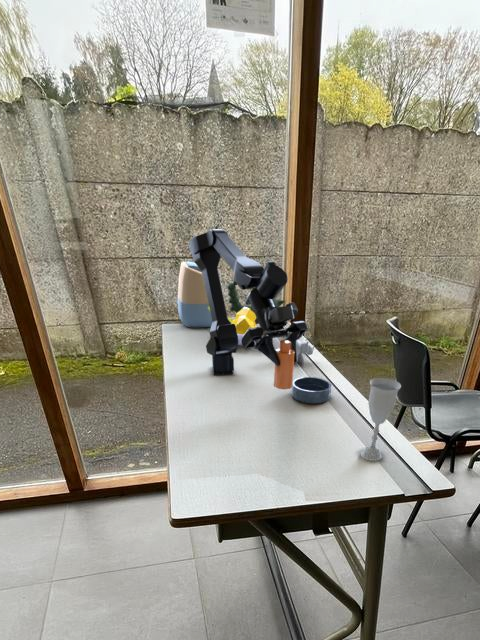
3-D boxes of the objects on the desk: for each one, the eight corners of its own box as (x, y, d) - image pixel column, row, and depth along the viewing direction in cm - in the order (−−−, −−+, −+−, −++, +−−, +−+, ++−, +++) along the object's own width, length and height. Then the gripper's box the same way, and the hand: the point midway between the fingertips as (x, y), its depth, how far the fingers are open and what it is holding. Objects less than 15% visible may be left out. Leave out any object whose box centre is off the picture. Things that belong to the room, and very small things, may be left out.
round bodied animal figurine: (314, 364, 156) (317, 340, 151) (281, 364, 155) (283, 339, 150) (311, 357, 162) (313, 334, 157) (279, 357, 160) (280, 333, 155)
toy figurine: (231, 326, 196) (286, 323, 197) (226, 280, 184) (284, 276, 185) (231, 321, 203) (284, 318, 204) (226, 275, 191) (283, 272, 193)
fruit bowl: (290, 340, 179) (292, 310, 172) (251, 355, 160) (251, 323, 153) (236, 326, 190) (236, 298, 183) (194, 340, 171) (192, 309, 164)
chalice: (354, 448, 108) (366, 377, 98) (380, 448, 109) (395, 378, 98) (360, 463, 103) (374, 390, 92) (388, 463, 103) (405, 390, 92)
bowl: (296, 405, 127) (297, 392, 125) (287, 389, 136) (288, 377, 134) (334, 403, 129) (336, 391, 127) (323, 388, 139) (325, 376, 136)
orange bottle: (275, 389, 119) (277, 344, 111) (272, 382, 123) (273, 338, 115) (294, 389, 120) (297, 344, 113) (290, 382, 124) (292, 338, 117)
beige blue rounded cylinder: (221, 328, 187) (219, 267, 173) (181, 329, 183) (176, 266, 168) (215, 318, 199) (212, 260, 185) (178, 318, 195) (172, 259, 181)
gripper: (247, 293, 105) (272, 353, 105) (306, 288, 114) (329, 343, 114) (230, 320, 114) (253, 375, 114) (287, 313, 124) (308, 363, 124)
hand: (287, 363), depth 116 cm, fingers closed on orange bottle, 5 cm apart
